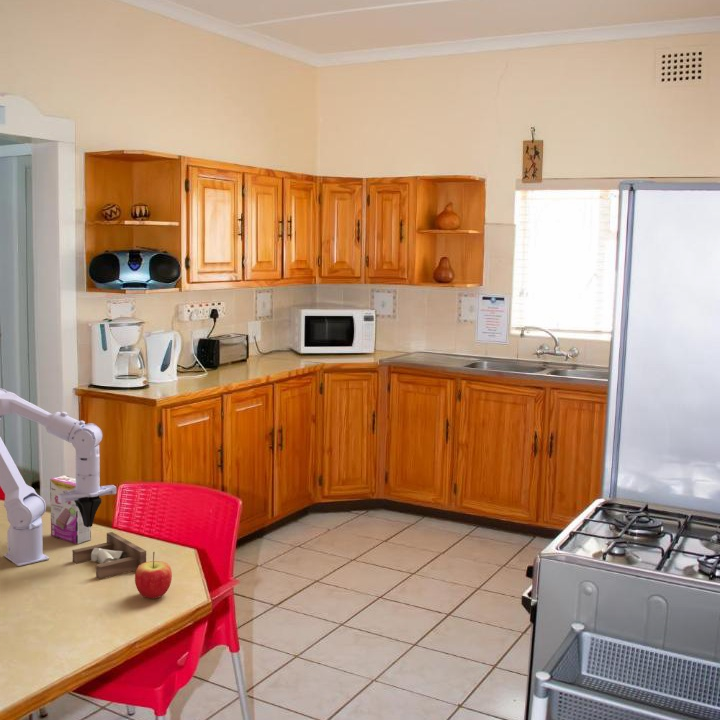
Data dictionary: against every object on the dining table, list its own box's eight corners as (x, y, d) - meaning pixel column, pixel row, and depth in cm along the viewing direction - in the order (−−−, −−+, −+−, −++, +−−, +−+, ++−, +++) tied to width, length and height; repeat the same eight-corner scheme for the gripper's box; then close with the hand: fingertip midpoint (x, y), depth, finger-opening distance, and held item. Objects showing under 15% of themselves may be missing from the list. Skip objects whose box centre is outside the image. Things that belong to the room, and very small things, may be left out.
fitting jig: (70, 559, 217) (69, 540, 216) (112, 550, 224) (111, 531, 224) (102, 581, 204) (102, 561, 203) (146, 570, 211) (146, 550, 211)
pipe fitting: (112, 574, 210) (126, 562, 216) (111, 559, 209) (126, 548, 215) (83, 570, 212) (98, 559, 218) (83, 555, 211) (97, 544, 217)
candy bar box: (49, 536, 233) (48, 478, 231) (64, 532, 237) (64, 474, 235) (76, 545, 227) (76, 485, 225) (91, 540, 231) (91, 481, 229)
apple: (172, 588, 201) (172, 547, 200) (170, 602, 193) (171, 560, 191) (136, 589, 200) (136, 548, 198) (133, 604, 191) (133, 561, 190)
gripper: (66, 481, 205) (67, 535, 207) (122, 472, 215) (122, 524, 217) (54, 475, 210) (54, 528, 212) (108, 466, 220) (109, 517, 222)
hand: (88, 525), depth 214 cm, fingers closed
